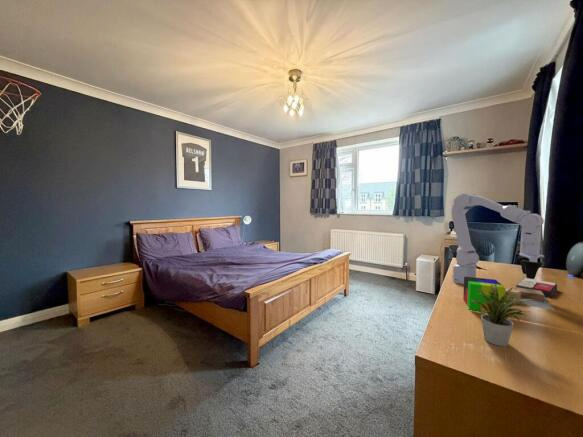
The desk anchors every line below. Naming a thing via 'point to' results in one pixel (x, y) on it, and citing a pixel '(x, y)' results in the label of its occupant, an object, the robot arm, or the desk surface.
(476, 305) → the puzzle toy
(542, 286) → the calculator
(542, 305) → the baseplate
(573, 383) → the desk surface
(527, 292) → the walnut base brick
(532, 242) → the robot arm
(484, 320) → the house plant
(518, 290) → the terracotta brick
